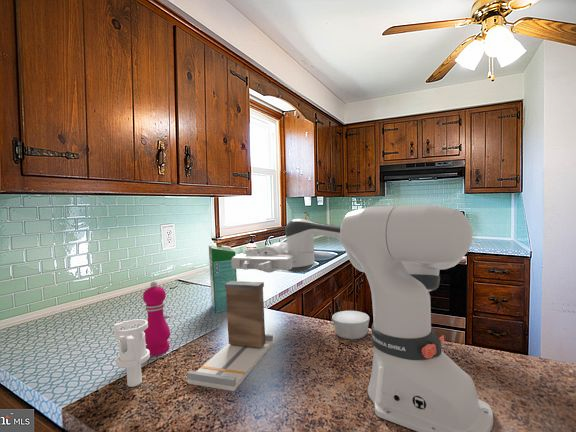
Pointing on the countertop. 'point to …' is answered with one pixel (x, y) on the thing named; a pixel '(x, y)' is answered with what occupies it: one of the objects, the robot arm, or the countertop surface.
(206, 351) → the countertop surface
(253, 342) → the block
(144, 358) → the white cylindrical cage holder
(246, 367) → the slide board
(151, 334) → the pepper mill
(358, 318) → the ramekin
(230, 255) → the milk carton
